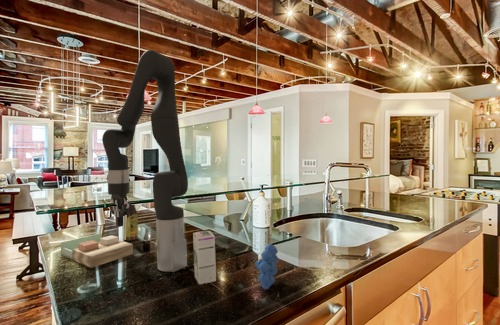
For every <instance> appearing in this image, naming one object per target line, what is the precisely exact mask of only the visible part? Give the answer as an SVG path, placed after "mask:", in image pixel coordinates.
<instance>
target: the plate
mask: <svg viewBox="0 0 500 325" xmlns="http://www.w3.org/2000/svg"><path fill="white" fill-rule="evenodd" d="M98 243H99V248H95V249H91V250H88V251H83V250H80V249H78V248H76V249H72V254H73V260H72V261H74V262H77V263H79V264H81V265H83V266H86V267H88V268H90V269H92V268H95V267H98V266H101V265H104V264H107V263H110V262H113V261H116V260H119V259H123V258H125V257H129V256H132V255H134V248H133V247H134V246H133V243H131V242H128V241H125V240H124V241H123V240H120V239H119V242H117V243H113V244H110V245H104V244H101V243H100V242H98Z"/></svg>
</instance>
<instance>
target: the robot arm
mask: <svg viewBox="0 0 500 325" xmlns="http://www.w3.org/2000/svg"><path fill="white" fill-rule="evenodd" d="M175 74H176V71H175V64H174V62H173V61H172V59H171V58H169V57H168V56H166V55H164V54H162V53H160V52H158V51H155V50H152V49H148V50H145V51H144V52H143V53H142V55H141V56H140V58H139V60H138V62H137V66H136V69H135V72H134V75H133V78H132V80H131V81H132V82H131V85H130V88H129V91H128V94H127V97H126V99H125V101H124V103H123V106H122V108H120V111H119V113H118V115H117V117H116V122H117V124H118V125H119V126H120V127H121V128H120V129H118V128H117V129H115V128H108V129H106V130H105V131H104V133H103V135H102V145H103V148H104V151H105V155H106V158H107V169H108V170H107V194H108V195H110V199H111V200H108V201H107V203H108V202H110V201H112V203H115V204H116V205H117V206H113V207H109V209H110V212H111V214H112V215H114V216H113V217H115V226H116V227H117V228H118V227H119V228H120V227H123V216H125V215H127V213H128V211H129V209H130V207H131V203H128V202H127V197H128V194H130V173H129V158H128V156H127V155H126V154H123V153H121V151H120V149H125V148H127V147H129V146H130V145H131V144H132V143H133V141H134V137H135V133H136V128H137V125H138V123H139V122H140V119H141V117H142V116H143V114H144V110H145V93H146V89H147V85H148V83H149V82H150V81H151V79H152V80H154V81H156V87H157V99H156V101H155V104H154V106H153V108H152V110H151V114H150V123H151V132H152V136H153V138H154V140H155V141H156V143H157V145H158V146H159V148H160V149H161V151H162V152H163V153H164V155H165V157H166V159H167V162H168V166H169V170H168V171H167V170H165V171H159V172H156V173H155V174H154V176H153V179H152V194H153V195H152V197H153V207H154V208H153V209H154V211H155V221H156V223H155V225H156V226H155V227H156V230H155V231H156V255H157V256H156V258H157V260H156V261H157V263H156V264H157V270H159V271H161V272H172V273H174V272H177V271H179V270H182V269H183V268H186V267H188V256H187V252H188V250H187V247H188V246H187V239H186V238H185V215H184V214H185V213H184V209H183V207H181V206H175V205H174V204H173V201H172V198H177V197H184V195H186V193H187V192H188V188H189V181H188V174H187V169H186V166H185V164H186V163H185V160H184V156H183V150H182V149H183V148H182V142H181V135H180V126H179V125H180V124H179V123H180V122H179V117H178V108H177V99H176V75H175Z"/></svg>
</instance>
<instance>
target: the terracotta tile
mask: <svg viewBox="0 0 500 325" xmlns="http://www.w3.org/2000/svg"><path fill="white" fill-rule="evenodd" d="M95 248H99V243H98V242H96V241H93V240H91V241H87V242H83V243H79V244H78V249H80V250H83V251H88V250H91V249H95Z"/></svg>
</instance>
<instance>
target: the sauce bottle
mask: <svg viewBox="0 0 500 325" xmlns="http://www.w3.org/2000/svg"><path fill="white" fill-rule="evenodd" d="M138 225H139V224H138V211H137V209H136V206H135V204H134V205H131V207H130V209H129V211H128V213H127V227H126V240H127V241H126V242H129V241H135V240H137V239H138V236H139V233H138V232H139V230H138Z"/></svg>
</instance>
